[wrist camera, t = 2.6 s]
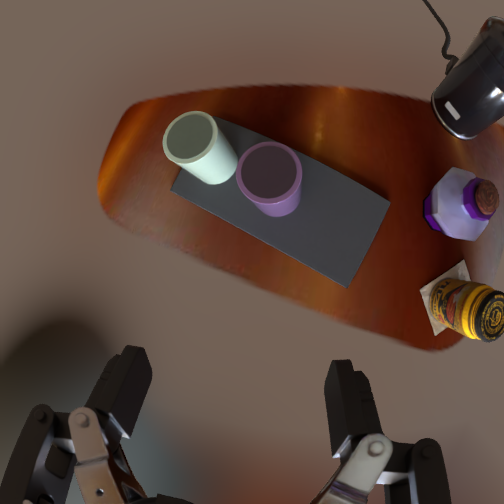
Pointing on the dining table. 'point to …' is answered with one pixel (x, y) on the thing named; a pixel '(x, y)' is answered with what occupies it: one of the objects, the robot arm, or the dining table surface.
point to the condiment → (464, 305)
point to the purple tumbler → (271, 178)
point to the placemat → (298, 211)
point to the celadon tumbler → (200, 147)
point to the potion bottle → (460, 204)
